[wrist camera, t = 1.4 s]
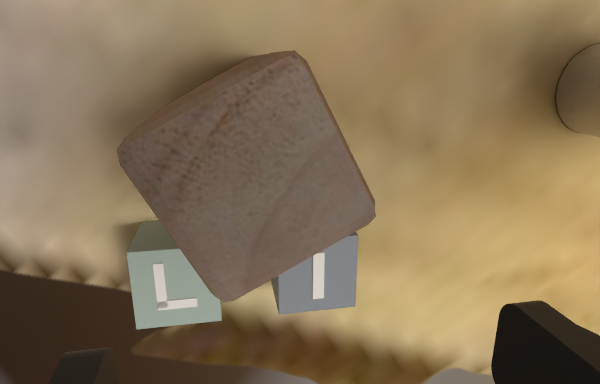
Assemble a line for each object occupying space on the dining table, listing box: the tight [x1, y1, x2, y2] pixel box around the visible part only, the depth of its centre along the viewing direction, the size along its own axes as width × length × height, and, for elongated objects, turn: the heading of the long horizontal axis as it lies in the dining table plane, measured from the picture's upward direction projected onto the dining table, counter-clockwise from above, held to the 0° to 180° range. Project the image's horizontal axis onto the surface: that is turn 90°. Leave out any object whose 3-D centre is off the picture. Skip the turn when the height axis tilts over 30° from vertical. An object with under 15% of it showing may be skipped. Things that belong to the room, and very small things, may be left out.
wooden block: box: [117, 50, 376, 302], centre depth 30 cm, size 10×10×20 cm
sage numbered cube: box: [127, 221, 222, 329], centre depth 38 cm, size 7×7×7 cm
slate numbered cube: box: [271, 232, 358, 314], centre depth 40 cm, size 7×7×7 cm
